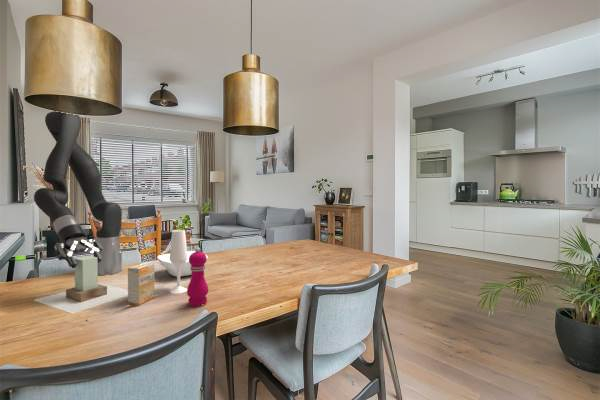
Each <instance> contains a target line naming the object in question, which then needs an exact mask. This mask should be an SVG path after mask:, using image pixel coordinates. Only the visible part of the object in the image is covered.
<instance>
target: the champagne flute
mask: <svg viewBox="0 0 600 400" xmlns="http://www.w3.org/2000/svg"><path fill="white" fill-rule="evenodd" d="M170 239H171V240H170V249H169V253H170V258H169V259H170V261H171V263H172V264H174V265H175V266H177V277H176V286H175V287H173V288H172V289H170V290H169V293H170V294H172V295H175V294H176V295H177V294H184V293H187V289H188V288H186V287H184V286H181V276H180V266H182V265H183V264H184V263H185V262H186V260H187V258H188V256H187V251H188V248H187V247H188V246H187V237H186V230H185V229H173V230H172V231H171V238H170Z"/></svg>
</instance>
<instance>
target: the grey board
mask: <svg viewBox="0 0 600 400" xmlns="http://www.w3.org/2000/svg"><path fill="white" fill-rule="evenodd" d="M98 284H100V285H103V286H107V295H103V296H100V297H97V298H94V299H90V300H87V301H84V302H78V301H74V300H71V299H68V298H66V290H65V291H62V292H59V293H54V294H51V295H47V296H43V297H40V298H35V299H33V302H37V303H40V304H43V305H45V306H49V307H52V308H55V309H57V310H60V311H62V312H66V313H69V314H72V315H73V314H76V313H80V312H82V311H86V310H88V309H91V308H95V307H98V306H100V305H103V304H107V303H109V302H112V301H115V300H119V299H122V298H124V297H128V289H124V288H121V287H116V286H113V285H110V284H106V283H105V284H104V283H101V282H98Z"/></svg>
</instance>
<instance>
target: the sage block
mask: <svg viewBox="0 0 600 400" xmlns="http://www.w3.org/2000/svg"><path fill="white" fill-rule="evenodd" d="M74 260H75V261H76V263H77V266H76V267H75V268H74V287H75V289H77V290H81V291H86V290H89V289H93V288H97V287H98V283H99V280H98V279H99V275H98V261H97V257H94V256H92V255H87V256H80V257H76V258H75V257H74Z"/></svg>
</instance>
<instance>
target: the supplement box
mask: <svg viewBox="0 0 600 400" xmlns="http://www.w3.org/2000/svg"><path fill="white" fill-rule="evenodd" d="M127 290H128V296H127V302H128V303H129V305H132V306H141V305H143V304H144V303H146V302H147V301H149V300H152V299H154V298H155V263H154V262H141V263H139V264H136V265H133V266H130V267H128V268H127Z"/></svg>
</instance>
